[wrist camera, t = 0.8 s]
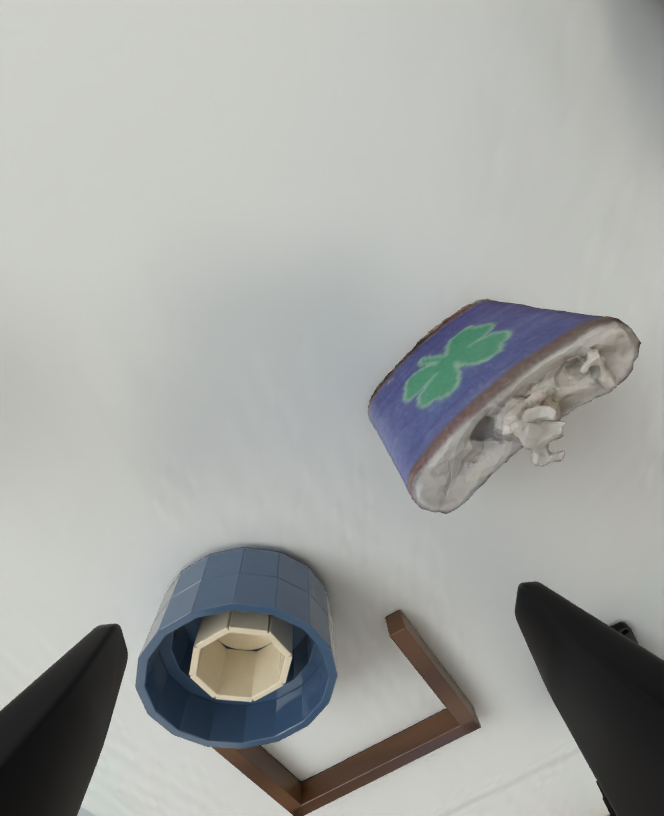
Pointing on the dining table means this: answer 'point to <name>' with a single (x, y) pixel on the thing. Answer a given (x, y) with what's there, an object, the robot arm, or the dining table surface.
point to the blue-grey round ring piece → (238, 591)
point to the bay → (377, 757)
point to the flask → (492, 393)
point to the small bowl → (241, 655)
